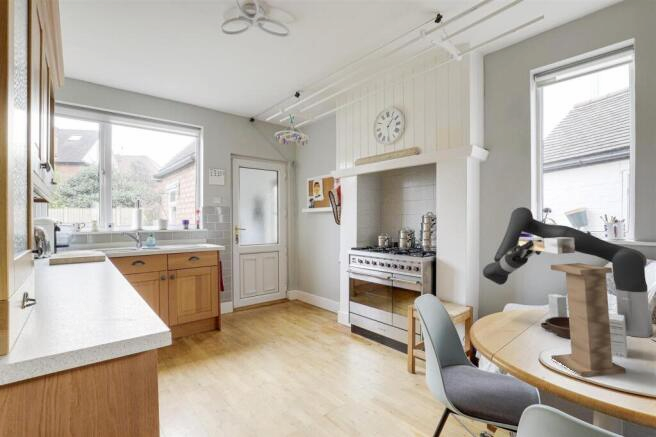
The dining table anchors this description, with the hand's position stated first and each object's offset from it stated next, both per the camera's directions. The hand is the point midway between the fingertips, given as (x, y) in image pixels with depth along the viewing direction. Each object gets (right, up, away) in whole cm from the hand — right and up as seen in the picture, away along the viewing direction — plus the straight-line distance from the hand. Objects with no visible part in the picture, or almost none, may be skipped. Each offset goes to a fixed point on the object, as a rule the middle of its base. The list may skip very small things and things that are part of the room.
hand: (536, 242), depth 122 cm
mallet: (0, -3, -3) cm, 4 cm away
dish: (+20, -38, +7) cm, 44 cm away
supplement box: (+20, -38, -11) cm, 44 cm away
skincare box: (+25, -38, +23) cm, 51 cm away
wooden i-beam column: (+3, -38, -19) cm, 43 cm away
